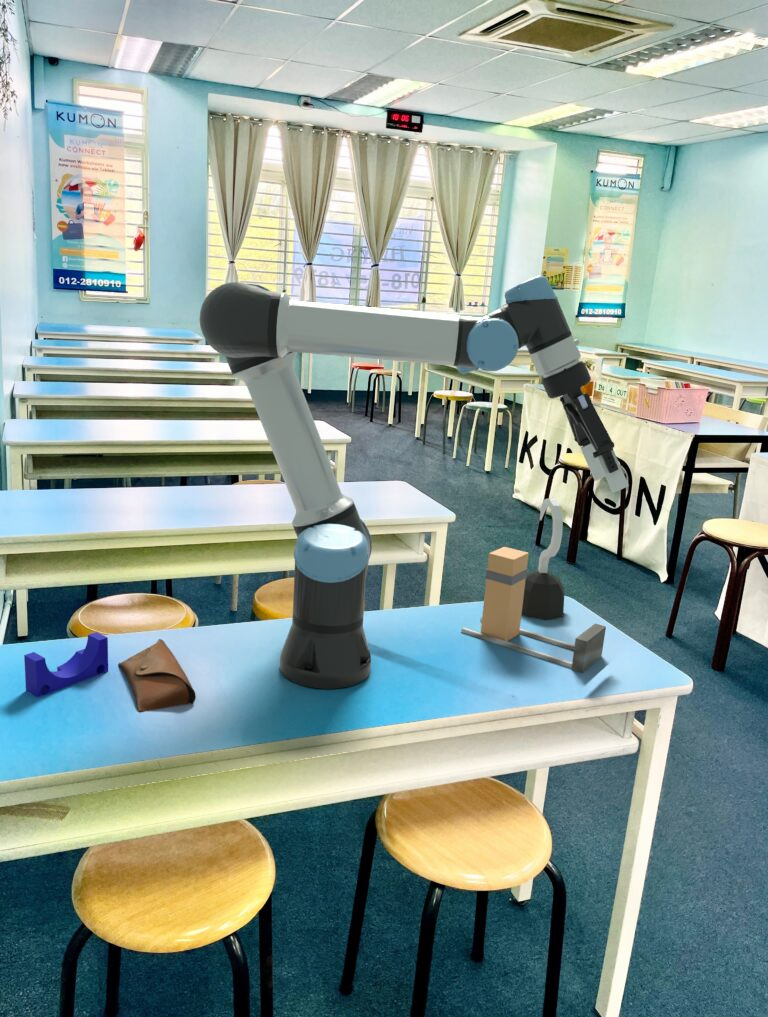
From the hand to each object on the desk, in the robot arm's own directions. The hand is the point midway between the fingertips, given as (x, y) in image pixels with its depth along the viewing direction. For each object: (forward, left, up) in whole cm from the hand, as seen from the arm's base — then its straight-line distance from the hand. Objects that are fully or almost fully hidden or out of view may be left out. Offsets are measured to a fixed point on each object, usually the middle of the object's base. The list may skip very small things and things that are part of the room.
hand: (610, 483), depth 132 cm
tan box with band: (-11, +11, -31) cm, 35 cm away
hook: (+4, +20, -33) cm, 39 cm away
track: (-8, +6, -33) cm, 34 cm away
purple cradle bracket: (-86, +18, -33) cm, 94 cm away
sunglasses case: (-73, +13, -33) cm, 82 cm away
